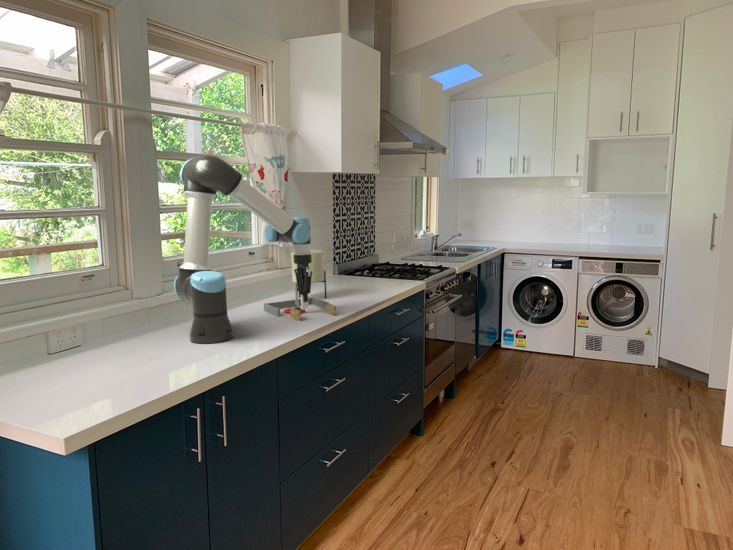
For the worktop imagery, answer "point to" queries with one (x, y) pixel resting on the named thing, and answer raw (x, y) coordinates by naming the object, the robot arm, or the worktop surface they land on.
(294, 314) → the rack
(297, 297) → the tow hook
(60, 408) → the worktop surface
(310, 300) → the grey piece
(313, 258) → the planter
